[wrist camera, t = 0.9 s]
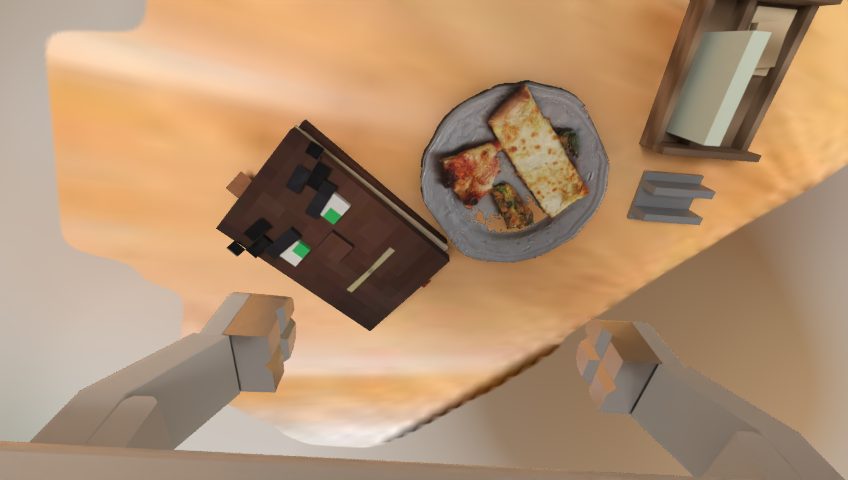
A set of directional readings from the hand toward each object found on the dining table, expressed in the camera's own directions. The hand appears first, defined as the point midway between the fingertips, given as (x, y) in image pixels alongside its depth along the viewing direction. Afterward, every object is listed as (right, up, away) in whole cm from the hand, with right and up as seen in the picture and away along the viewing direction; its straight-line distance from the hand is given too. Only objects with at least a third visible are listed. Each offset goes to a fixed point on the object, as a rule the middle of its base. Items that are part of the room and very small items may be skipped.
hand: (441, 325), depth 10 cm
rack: (+35, +22, +35) cm, 54 cm away
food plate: (+12, +11, +41) cm, 44 cm away
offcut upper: (+37, +24, +31) cm, 54 cm away
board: (+32, +21, +34) cm, 51 cm away
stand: (+33, +8, +42) cm, 54 cm away
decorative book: (-12, +5, +44) cm, 46 cm away
